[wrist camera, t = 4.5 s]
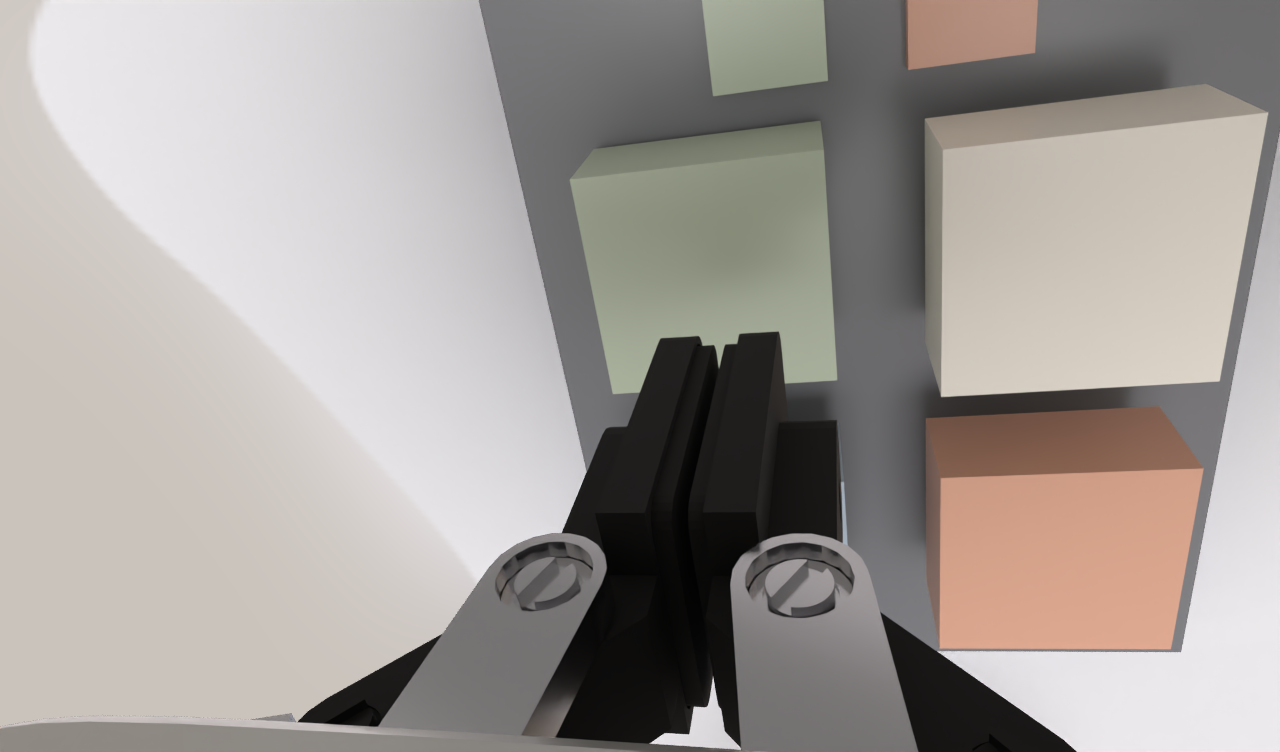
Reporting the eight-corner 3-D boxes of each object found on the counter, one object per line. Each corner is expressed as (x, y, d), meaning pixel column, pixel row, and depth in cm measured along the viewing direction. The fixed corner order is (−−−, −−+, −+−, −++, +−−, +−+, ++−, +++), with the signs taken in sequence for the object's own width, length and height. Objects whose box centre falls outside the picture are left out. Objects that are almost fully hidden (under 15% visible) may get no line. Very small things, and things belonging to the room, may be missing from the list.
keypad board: (1281, -178, 16) (1352, -188, 14) (1154, 601, 26) (1186, 663, 24) (499, -39, 20) (465, -31, 18) (637, 604, 29) (625, 659, 27)
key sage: (820, 120, 18) (823, 149, 16) (833, 330, 20) (837, 380, 18) (593, 148, 19) (569, 179, 17) (630, 345, 21) (612, 394, 19)
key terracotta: (1159, 406, 19) (1203, 468, 17) (1134, 576, 21) (1171, 649, 19) (925, 418, 20) (940, 477, 18) (926, 579, 22) (939, 648, 20)
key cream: (1206, 83, 16) (1268, 112, 14) (1171, 326, 18) (1219, 381, 16) (924, 118, 17) (943, 150, 15) (925, 342, 19) (941, 396, 17)
